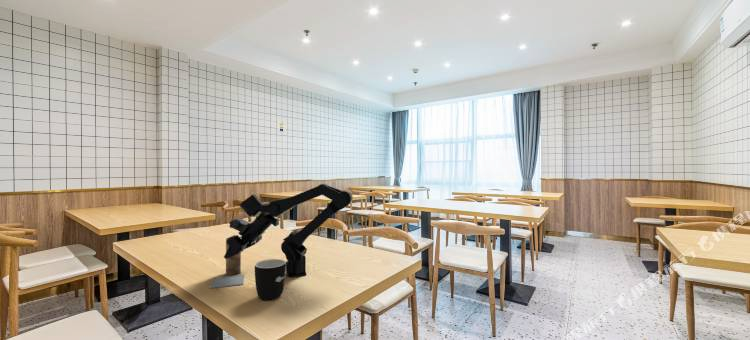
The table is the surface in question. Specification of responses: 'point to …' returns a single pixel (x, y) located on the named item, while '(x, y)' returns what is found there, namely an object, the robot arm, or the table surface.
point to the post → (233, 263)
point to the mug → (270, 278)
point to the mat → (227, 281)
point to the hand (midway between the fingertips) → (229, 255)
